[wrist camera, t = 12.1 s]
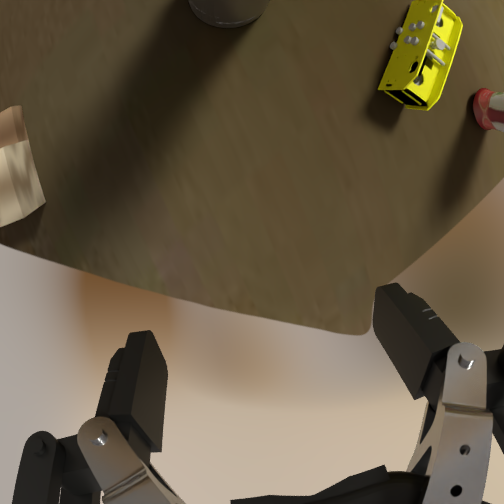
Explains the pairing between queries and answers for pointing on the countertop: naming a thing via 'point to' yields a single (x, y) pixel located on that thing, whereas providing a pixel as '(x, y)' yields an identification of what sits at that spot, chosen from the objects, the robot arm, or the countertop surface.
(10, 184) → the plinth
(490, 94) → the liquor
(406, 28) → the yellow toy chassis
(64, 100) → the countertop surface
